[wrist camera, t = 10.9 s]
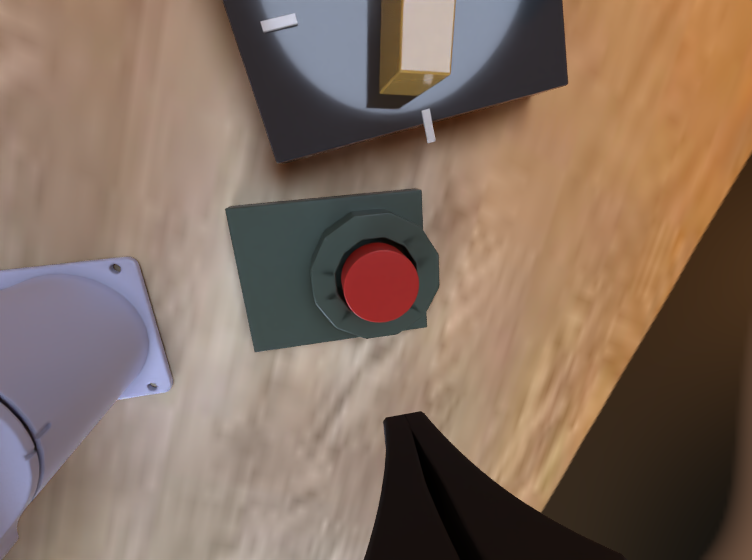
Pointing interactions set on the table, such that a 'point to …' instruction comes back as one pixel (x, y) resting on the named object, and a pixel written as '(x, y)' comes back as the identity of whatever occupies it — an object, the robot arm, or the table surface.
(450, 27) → the gold rectangular bar
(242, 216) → the button box
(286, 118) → the block
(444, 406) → the table surface
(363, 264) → the button
